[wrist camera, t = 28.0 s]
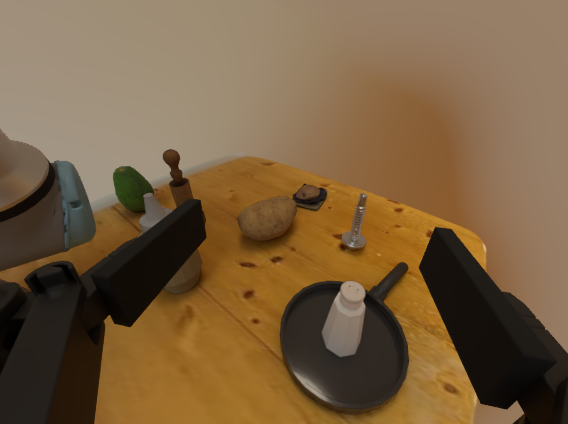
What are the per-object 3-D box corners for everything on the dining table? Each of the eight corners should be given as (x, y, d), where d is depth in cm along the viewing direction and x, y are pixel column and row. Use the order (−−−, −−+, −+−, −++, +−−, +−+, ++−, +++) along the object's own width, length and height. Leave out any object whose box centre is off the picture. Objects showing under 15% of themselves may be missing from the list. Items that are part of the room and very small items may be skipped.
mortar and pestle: (183, 236, 52) (157, 160, 41) (172, 223, 56) (145, 150, 45) (210, 223, 55) (193, 150, 45) (198, 212, 59) (179, 142, 49)
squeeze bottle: (195, 257, 47) (168, 175, 36) (213, 282, 41) (188, 196, 31) (152, 278, 42) (108, 193, 32) (167, 309, 37) (120, 220, 27)
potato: (307, 230, 53) (309, 201, 48) (255, 259, 46) (251, 228, 41) (281, 211, 59) (281, 183, 55) (231, 234, 52) (226, 204, 48)
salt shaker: (368, 343, 32) (388, 295, 26) (339, 367, 30) (353, 320, 24) (341, 312, 36) (352, 264, 30) (313, 331, 34) (319, 283, 27)
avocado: (119, 212, 60) (97, 168, 53) (148, 198, 65) (132, 157, 58) (136, 222, 56) (115, 177, 49) (166, 207, 61) (150, 164, 54)
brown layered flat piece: (318, 212, 59) (319, 200, 57) (287, 205, 62) (288, 193, 59) (329, 192, 67) (331, 181, 64) (302, 186, 69) (302, 175, 67)
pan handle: (377, 307, 37) (380, 300, 36) (365, 298, 38) (367, 291, 37) (409, 271, 42) (412, 264, 41) (397, 264, 44) (400, 258, 43)
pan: (354, 459, 24) (358, 454, 23) (256, 333, 34) (255, 325, 33) (426, 344, 33) (431, 336, 32) (331, 272, 43) (332, 265, 42)
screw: (361, 258, 46) (337, 250, 48) (366, 243, 49) (343, 236, 51) (376, 203, 38) (347, 196, 40) (380, 190, 42) (353, 184, 44)
